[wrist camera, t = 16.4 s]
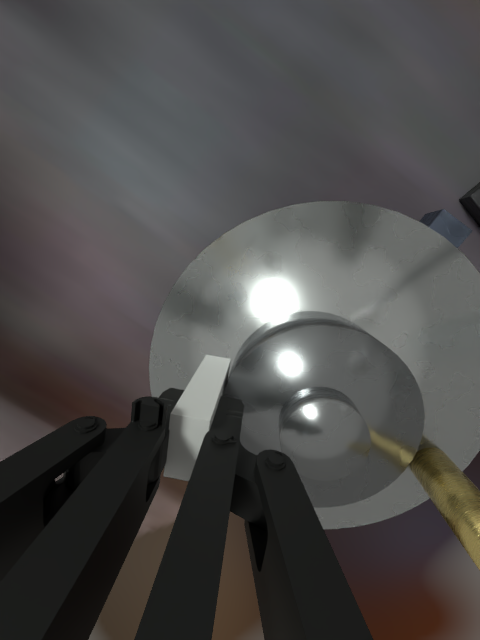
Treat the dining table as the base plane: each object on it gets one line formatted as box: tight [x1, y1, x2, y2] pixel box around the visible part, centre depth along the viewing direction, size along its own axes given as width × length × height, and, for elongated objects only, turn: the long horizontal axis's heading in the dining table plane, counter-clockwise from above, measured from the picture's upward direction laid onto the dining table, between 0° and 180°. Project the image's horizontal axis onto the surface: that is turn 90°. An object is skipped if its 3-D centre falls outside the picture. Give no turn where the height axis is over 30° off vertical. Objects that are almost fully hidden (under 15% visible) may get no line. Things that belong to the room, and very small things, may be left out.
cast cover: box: [223, 311, 425, 508], centre depth 15 cm, size 10×10×6 cm
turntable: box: [149, 201, 480, 570], centre depth 15 cm, size 23×22×9 cm
